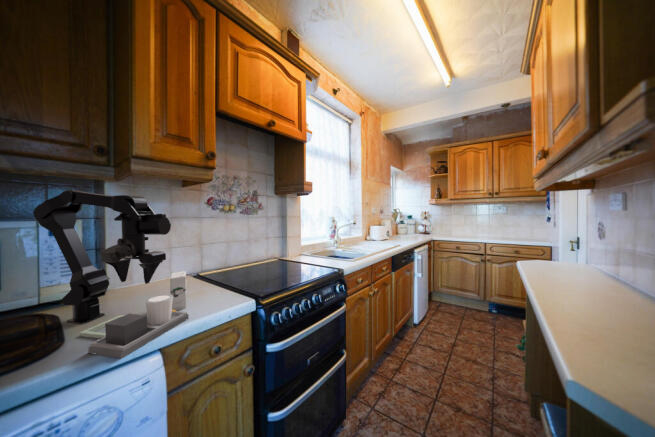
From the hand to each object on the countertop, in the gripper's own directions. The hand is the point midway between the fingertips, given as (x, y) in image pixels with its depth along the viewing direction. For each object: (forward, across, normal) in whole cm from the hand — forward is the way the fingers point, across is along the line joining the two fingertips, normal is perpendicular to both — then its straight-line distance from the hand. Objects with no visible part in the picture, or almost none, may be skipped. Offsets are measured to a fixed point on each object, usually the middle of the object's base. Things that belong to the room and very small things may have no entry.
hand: (135, 282), depth 76 cm
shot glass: (+11, +11, -2) cm, 16 cm away
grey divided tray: (+12, +12, -7) cm, 18 cm away
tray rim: (+12, 0, -6) cm, 13 cm away
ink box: (+12, +5, +12) cm, 18 cm away
